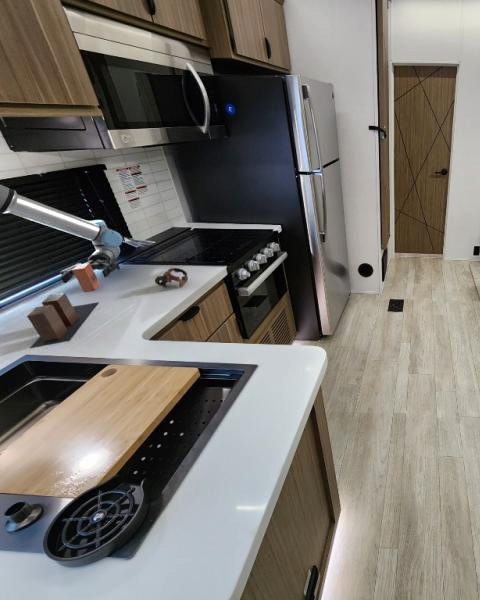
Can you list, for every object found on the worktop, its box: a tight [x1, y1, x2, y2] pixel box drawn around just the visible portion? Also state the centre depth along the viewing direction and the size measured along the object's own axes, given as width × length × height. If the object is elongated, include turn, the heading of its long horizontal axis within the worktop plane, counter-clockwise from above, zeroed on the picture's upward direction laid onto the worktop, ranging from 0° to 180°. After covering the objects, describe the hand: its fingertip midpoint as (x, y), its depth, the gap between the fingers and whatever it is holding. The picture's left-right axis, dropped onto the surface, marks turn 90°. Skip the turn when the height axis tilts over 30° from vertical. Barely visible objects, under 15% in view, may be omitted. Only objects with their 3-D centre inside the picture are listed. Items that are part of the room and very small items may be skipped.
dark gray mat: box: [29, 301, 100, 349], centre depth 115 cm, size 28×10×1 cm, turn 23°
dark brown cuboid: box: [26, 305, 68, 343], centre depth 105 cm, size 4×6×10 cm
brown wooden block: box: [41, 292, 79, 327], centre depth 113 cm, size 4×6×10 cm
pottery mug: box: [154, 267, 189, 288], centre depth 140 cm, size 12×10×8 cm
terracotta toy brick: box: [72, 262, 101, 293], centre depth 138 cm, size 4×6×10 cm
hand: (84, 277), depth 136 cm, fingers open, 13 cm apart
